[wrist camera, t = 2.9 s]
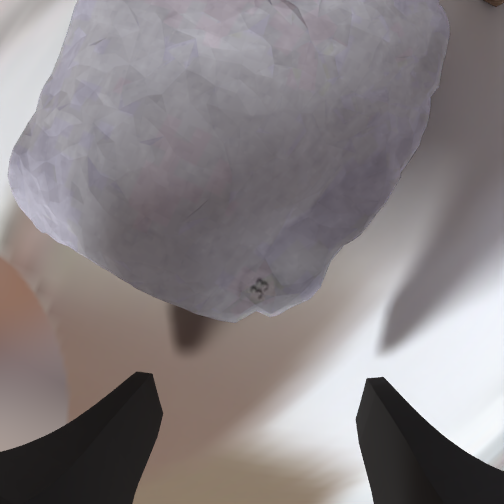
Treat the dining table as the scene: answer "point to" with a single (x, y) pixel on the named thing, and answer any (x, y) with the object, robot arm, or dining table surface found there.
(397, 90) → the stone block
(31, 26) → the dining table surface
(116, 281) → the dining table surface
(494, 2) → the walnut corral
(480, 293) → the dining table surface
